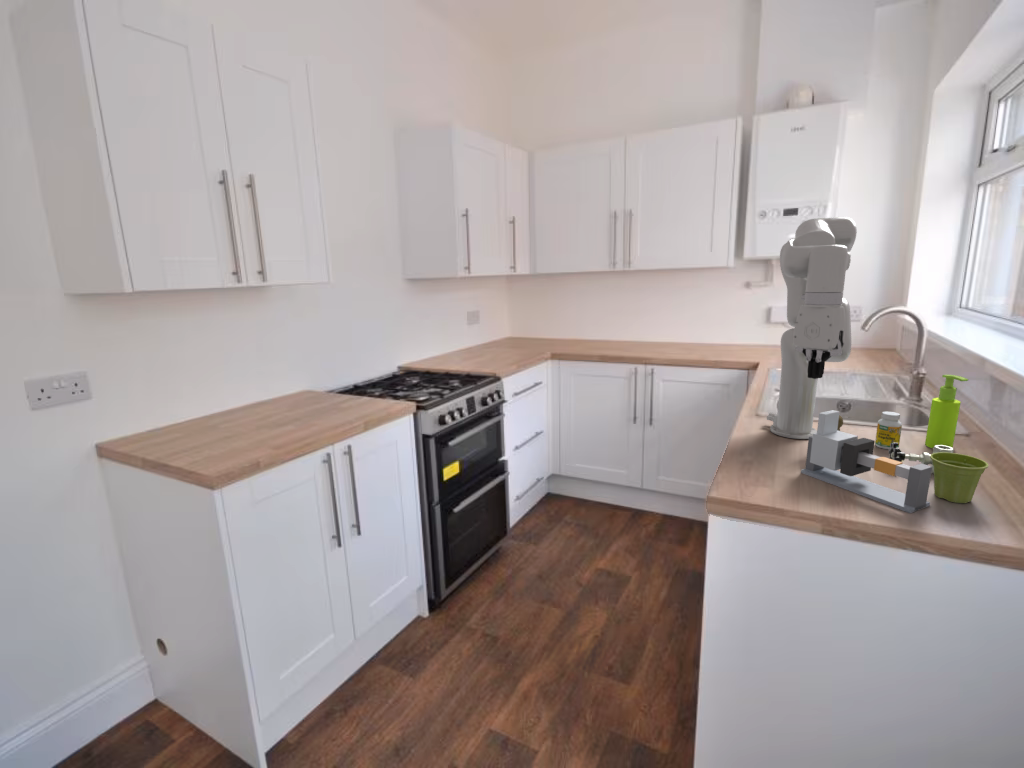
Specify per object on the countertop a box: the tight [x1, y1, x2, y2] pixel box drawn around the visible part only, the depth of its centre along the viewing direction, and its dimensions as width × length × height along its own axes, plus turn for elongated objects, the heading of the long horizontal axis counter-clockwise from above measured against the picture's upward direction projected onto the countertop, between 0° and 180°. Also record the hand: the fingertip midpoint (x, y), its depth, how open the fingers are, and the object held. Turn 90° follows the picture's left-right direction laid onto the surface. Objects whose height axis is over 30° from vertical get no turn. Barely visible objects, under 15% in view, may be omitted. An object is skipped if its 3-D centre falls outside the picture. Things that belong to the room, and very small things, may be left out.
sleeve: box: [810, 409, 859, 471], centre depth 121 cm, size 6×7×12 cm
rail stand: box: [800, 436, 932, 514], centre depth 116 cm, size 24×7×9 cm, turn 25°
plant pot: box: [930, 452, 989, 504], centre depth 110 cm, size 9×9×9 cm
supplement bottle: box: [874, 411, 903, 451], centre depth 141 cm, size 5×5×10 cm
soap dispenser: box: [924, 374, 969, 449], centre depth 138 cm, size 6×7×20 cm
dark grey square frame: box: [839, 437, 875, 476], centre depth 116 cm, size 2×7×7 cm, turn 115°
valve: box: [887, 442, 955, 475], centre depth 125 cm, size 7×7×12 cm
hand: (814, 377), depth 123 cm, fingers closed
